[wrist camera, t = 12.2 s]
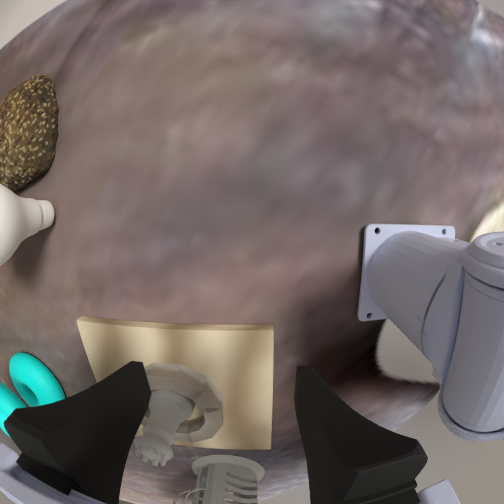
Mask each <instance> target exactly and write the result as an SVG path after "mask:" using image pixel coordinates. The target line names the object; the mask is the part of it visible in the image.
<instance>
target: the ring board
mask: <svg viewBox="0 0 504 504" xmlns="http://www.w3.org/2000/svg"><path fill="white" fill-rule="evenodd" d="M77 324H78V328H79V331H80V335H81V338H82V341H83V344H84V348H85V351H86V354H87V357H88V360H89V362H90V365H91V368H92V371H93V373H94V376H95V379H96V381H97V383H98V382H100V381H101V380H103V379H105V378H106V377H108V376H109V375H111V374H112V373H114V372H115V371H117V370H118V369H120V368H121V367H123V366H124V365H126V364H127V363H129V362H131V361H137V362H143V365H144V368H145V372H146V375H147V379H148V382H149V386H150V389H151V391H152V390H155V389H160V390H169V391H175V392H177V393H179V394H181V395H184V396H186V397H188V398H190V399H192V400H193V401H194V402H195V403H196V404H195V407H194V409H193V412H192V414H191V416H190V417H189V418H187V419H186V420H185V421H184V422H182V423H181V424H180V425H179V427H178V429H177V430H176V432H175V435H174V438H175V443H174V444H176V445H184V446H193V447H203V448H216V449H241V450H261V449H271V432H272V400H273V351H274V328H273V324H255V325H208V324H174V323H154V322H138V321H125V320H114V319H103V318H93V317H84V316H81V317H80V318H79V319H78V320H77ZM149 415H150V409H149V405H148V408H147V411H146V413H145V416H144V418H143V420H142V422H141V424H140V426H139V429H138V431H137V433H136V435H135V437H139V436H142V435H143V433H142V428H143V427H144V426H146V425H147V423H148V420H149Z"/></svg>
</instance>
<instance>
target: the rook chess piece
mask: <svg viewBox="0 0 504 504" xmlns="http://www.w3.org/2000/svg"><path fill="white" fill-rule="evenodd" d="M151 392H152V394H151V398H150V402H149V409H150V415H149V420H148V423H147V425H146V426H144V427H143V428H142V433H143V435H142V436H139V437H137V438H135V439H134V445H135V448H136V449H135V455H136V457H140V455H141V456H142V457H141V461H143V462H144V463H146V462H147V460H151V461H152V466H157V467H158V464H159V463H160V462H161V463H160V465H161V466H165V465H166V463H167V461H168V460H170V459H172V458H173V457H174V453H173V451H172V449H171V445H173V444H174V443H175V438H174V435H175V432H176V430H177V429H178V427H179V425H180V424H181V423H182V422H184V421H185V420H186V419H187V418H189V417H190V416H191V414H192V412H193V409H194V407H195V404H196V403H195V402H194V401H193V400H192V399H190V398H188V397H186V396H184V395H181V394H179V393H177V392H175V391H169V390H160V389H155V390H152V391H151Z"/></svg>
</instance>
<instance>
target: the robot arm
mask: <svg viewBox="0 0 504 504" xmlns="http://www.w3.org/2000/svg"><path fill="white" fill-rule="evenodd" d="M376 228H378V232H377V233H376V234H375V229H376ZM442 230H444V232H443V234H442ZM368 313H371V314H370V315H369V316H368V317H367V314H368ZM357 317H358V319H359V320H360V321H372V320H381V319H390V320H391V321H392V322H393V323H394V324H395V325H396V326H397V327H398V328H399V329H400V330H401V331H402V332H403V333H404V334H405V335H406V336H407V337H408V339H409V340H410V341H411V342H412V343H413V344H414V345H415V346H416V347H417V348H418V349H419V350H420V351H421V353H422V354H423V355H424V356H425V357H426V358H427V359H428V360H429V361H430V362H431V364H432V365H433V376H434V377H435V378H436V379H437V380H438V382H439V383H440V384H441V385H442V387H441V390H440V393H439V396H438V403H437V404H438V412H439V416H440V418H441V420H442V422H443V423H444V425H445V426H446V427H447V428H448V429H449V430H450V431H451V432H452V433H454V434H455V435H457V436H458V437H460V438H463V439H465V440H469V441H474V442H475V441H476V442H484V441H490V440H499V439H504V232H493V233H487V234H483V235H480V236H478V237H477V238H476V239H475V240H474V241H473V242H472V243H468V242H465V241H462V240H459V239H455V229H454V227H453V226H444V225H411V224H368V225H366V227H365V229H364V247H363V262H362V275H361V286H360V296H359V304H358V313H357ZM151 394H152V392H151V389H150V386H149V382H148V379H147V375H146V372H145V368H144V365H143V362H137V361H131V362H129V363H127V364H126V365H124V366H123V367H121V368H120V369H118V370H117V371H115V372H114V373H112V374H111V375H109V376H108V377H106V378H105V379H103V380H101V381H100V382H98V383H96V384H95V385H93V386H91V387H89V388H88V389H86V390H84V391H82V392H80V393H78V394H76V395H73V396H71V397H68V398H66V399H63V400H60V401H57V402H54V403H50V404H46V405H41V406H35V407H27V408H16V409H15V410H14V411H13V412H12V413H11V414H10V415H9V417H8V418H7V419H6V420H5V421H4V427H5V429H6V431H7V433H8V434H9V436H10V437H11V438H12V440H13V441H14V442H15V444H16V445H17V446H18V448H19V449H20V450H21V451H22V454H21V455H20V456H19V455H18V454H17V453H16V452H15V451H13V450H12V449H11V448H9V447H8V446H6V445H5V444H4V443H1V444H0V490H1V491H2V492H3V493H4V494H5V495H6V496H7V497H9V498H10V499H11V500H12V501H13V502H15V503H16V504H118V503H119V494H120V487H121V482H122V476H123V472H124V468H125V464H126V460H127V456H128V453H129V450H130V447H131V444H132V442H133V439H134V437H135V435H136V433H137V431H138V429H139V426H140V424H141V422H142V420H143V418H144V416H145V413H146V411H147V408H148V405H149V402H150V398H151ZM294 400H295V410H296V417H297V421H298V425H299V430H300V434H301V438H302V442H303V446H304V450H305V454H306V460H307V468H308V477H309V488H310V501H311V504H460V502H459V500H458V498H457V496H456V494H455V492H454V490H453V488H452V486H451V484H450V482H449V480H448V479H444V480H442V481H440V482H438V483H436V484H434V485H432V486H430V487H427V488H425V489H423V490H422V491H420V492H419V493H416V490H415V488H416V487H417V483H416V481H415V478H416V477H417V475H418V474H419V473H420V472H421V470H422V469H423V468H424V466H425V464H426V463H427V459H428V457H427V455H426V453H425V451H424V450H423V448H422V446H421V445H420V443H419V442H418V441H417V440H416V439H413V438H410V437H406V436H403V435H400V434H397V433H394V432H392V431H390V430H387V429H385V428H383V427H381V426H379V425H377V424H375V423H373V422H371V421H370V420H368V419H366V418H365V417H363V416H361V415H360V414H359V413H357V412H356V411H354V410H353V409H352V408H351V407H349V406H348V405H347V404H346V403H345V402H344V401H342V400H341V399H340V398H339V397H338V396H337V395H336V394H335V393H334V392H333V391H332V390H331V389H330V388H329V387H328V386H327V384H326V383H325V382H324V381H323V380H322V379H321V377H320V376H319V375H318V374H317V372H316V371H315V370H314V369H313V367H312V366H311V365H307V366H297V372H296V385H295V396H294Z"/></svg>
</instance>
